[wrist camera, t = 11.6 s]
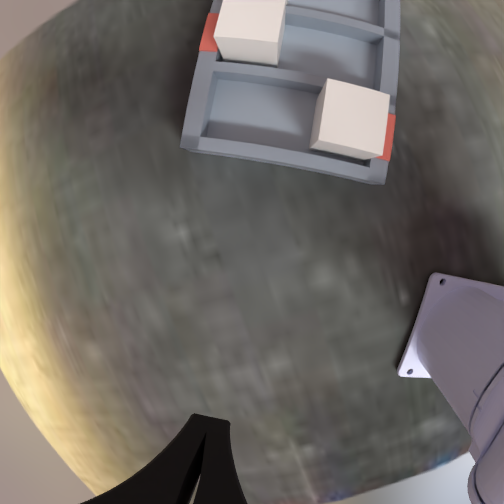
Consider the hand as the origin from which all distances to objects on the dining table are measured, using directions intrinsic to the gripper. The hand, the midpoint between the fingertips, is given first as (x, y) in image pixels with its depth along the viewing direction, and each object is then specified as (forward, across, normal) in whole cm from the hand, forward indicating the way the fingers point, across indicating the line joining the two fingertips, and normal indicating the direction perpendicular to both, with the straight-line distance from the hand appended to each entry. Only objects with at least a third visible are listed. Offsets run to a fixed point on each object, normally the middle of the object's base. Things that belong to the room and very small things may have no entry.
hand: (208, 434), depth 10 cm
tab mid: (+9, +2, -17) cm, 20 cm away
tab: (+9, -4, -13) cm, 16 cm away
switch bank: (+10, -1, -17) cm, 20 cm away
